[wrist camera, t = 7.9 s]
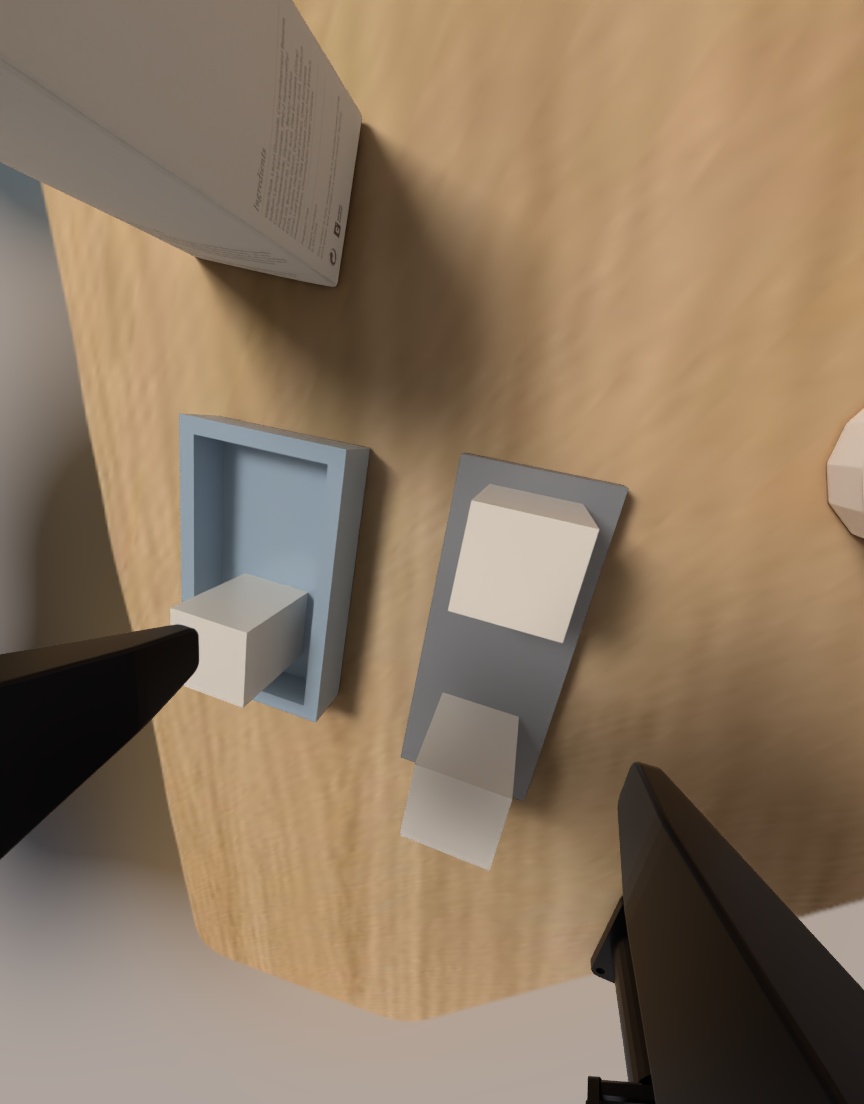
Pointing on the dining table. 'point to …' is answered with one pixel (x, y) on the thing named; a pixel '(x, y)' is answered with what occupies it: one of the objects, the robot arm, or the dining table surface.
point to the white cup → (848, 476)
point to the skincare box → (186, 124)
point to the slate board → (495, 651)
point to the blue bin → (276, 534)
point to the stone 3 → (523, 561)
